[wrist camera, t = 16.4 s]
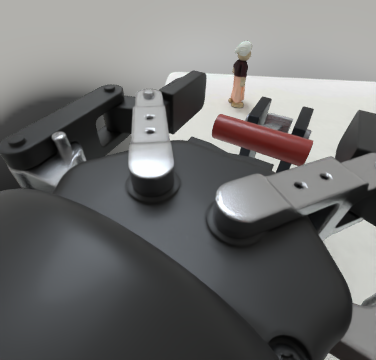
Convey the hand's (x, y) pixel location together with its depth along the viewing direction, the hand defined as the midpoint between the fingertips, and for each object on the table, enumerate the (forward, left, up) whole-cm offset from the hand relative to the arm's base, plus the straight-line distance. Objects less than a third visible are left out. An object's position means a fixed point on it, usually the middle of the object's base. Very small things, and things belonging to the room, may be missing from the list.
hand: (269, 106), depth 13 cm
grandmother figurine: (-18, -36, -19) cm, 45 cm away
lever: (-3, -3, -5) cm, 7 cm away
